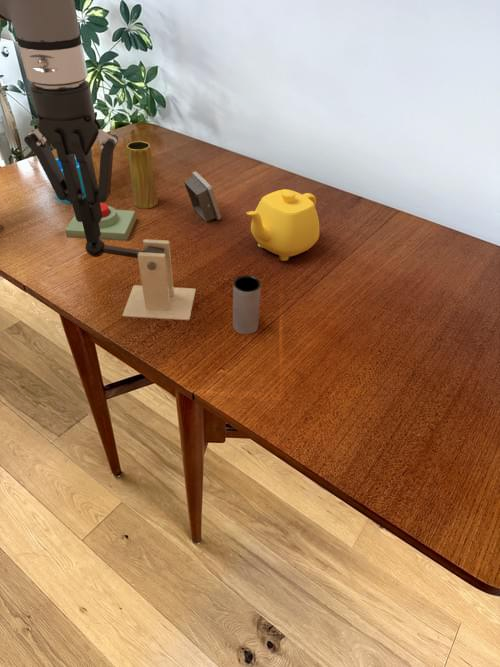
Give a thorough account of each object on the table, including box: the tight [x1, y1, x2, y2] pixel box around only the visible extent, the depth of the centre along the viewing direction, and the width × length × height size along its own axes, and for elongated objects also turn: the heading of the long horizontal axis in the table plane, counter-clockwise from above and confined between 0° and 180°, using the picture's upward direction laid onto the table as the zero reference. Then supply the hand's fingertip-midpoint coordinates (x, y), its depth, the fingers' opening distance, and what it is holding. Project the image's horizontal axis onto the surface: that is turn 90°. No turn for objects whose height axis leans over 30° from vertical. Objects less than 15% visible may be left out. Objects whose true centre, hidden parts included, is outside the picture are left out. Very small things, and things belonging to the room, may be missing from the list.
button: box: [100, 202, 109, 218], centre depth 102 cm, size 4×4×2 cm
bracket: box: [121, 238, 197, 321], centre depth 82 cm, size 12×9×13 cm
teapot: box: [245, 188, 320, 262], centre depth 98 cm, size 14×20×13 cm
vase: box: [126, 140, 159, 210], centre depth 110 cm, size 6×6×14 cm
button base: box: [64, 205, 137, 242], centre depth 104 cm, size 13×10×4 cm
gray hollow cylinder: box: [232, 274, 262, 335], centre depth 79 cm, size 4×4×10 cm
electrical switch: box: [183, 170, 222, 223], centre depth 109 cm, size 9×5×9 cm, turn 29°
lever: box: [85, 239, 164, 259], centre depth 78 cm, size 13×3×3 cm, turn 88°
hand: (94, 238), depth 77 cm, fingers closed
